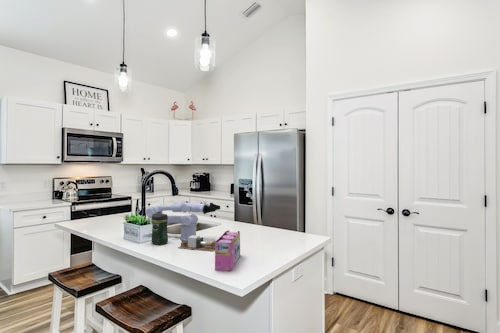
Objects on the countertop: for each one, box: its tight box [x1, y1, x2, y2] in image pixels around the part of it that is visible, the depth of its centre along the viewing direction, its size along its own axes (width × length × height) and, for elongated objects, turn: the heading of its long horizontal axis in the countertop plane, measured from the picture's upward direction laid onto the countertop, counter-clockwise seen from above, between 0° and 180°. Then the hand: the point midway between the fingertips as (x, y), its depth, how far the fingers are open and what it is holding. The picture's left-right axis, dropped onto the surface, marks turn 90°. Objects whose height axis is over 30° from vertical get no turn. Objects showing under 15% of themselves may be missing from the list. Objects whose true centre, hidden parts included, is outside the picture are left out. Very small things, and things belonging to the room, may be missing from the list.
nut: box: [197, 237, 204, 248], centre depth 170 cm, size 2×5×5 cm, turn 166°
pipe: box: [181, 240, 213, 246], centre depth 170 cm, size 21×2×2 cm, turn 76°
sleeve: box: [188, 235, 201, 248], centre depth 171 cm, size 5×5×6 cm
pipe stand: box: [177, 240, 217, 252], centre depth 170 cm, size 22×9×4 cm, turn 76°
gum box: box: [214, 230, 241, 272], centre depth 146 cm, size 24×8×14 cm, turn 170°
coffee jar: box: [151, 213, 169, 246], centre depth 179 cm, size 10×8×19 cm
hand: (217, 208), depth 183 cm, fingers open, 7 cm apart
